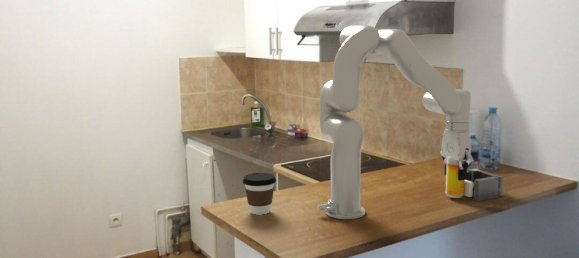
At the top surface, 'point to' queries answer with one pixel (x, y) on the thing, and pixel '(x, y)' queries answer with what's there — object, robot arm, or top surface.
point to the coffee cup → (259, 192)
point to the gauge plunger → (469, 185)
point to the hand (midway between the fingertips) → (455, 177)
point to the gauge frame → (485, 184)
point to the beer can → (453, 179)
